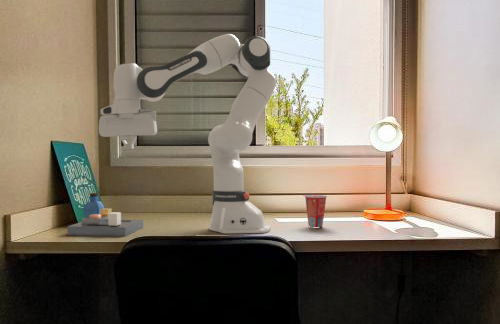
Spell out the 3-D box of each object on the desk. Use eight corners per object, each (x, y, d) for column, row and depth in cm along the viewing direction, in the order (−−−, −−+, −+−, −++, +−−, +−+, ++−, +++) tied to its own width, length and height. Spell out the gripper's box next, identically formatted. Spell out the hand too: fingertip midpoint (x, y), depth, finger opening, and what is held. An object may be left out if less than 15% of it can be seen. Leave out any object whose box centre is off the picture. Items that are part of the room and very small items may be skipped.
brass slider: (111, 219, 136) (111, 208, 136) (107, 220, 133) (107, 209, 133) (103, 219, 136) (103, 208, 136) (99, 220, 133) (99, 209, 133)
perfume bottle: (82, 224, 143) (82, 194, 143) (89, 222, 149) (89, 192, 149) (98, 224, 143) (98, 194, 143) (104, 222, 149) (104, 192, 149)
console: (143, 227, 137) (143, 214, 137) (125, 236, 121) (125, 221, 121) (92, 226, 139) (92, 213, 139) (67, 235, 123) (67, 220, 123)
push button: (103, 221, 131) (103, 214, 131) (97, 223, 127) (97, 216, 127) (92, 221, 131) (92, 214, 131) (86, 222, 127) (86, 215, 127)
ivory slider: (120, 224, 126) (120, 212, 126) (117, 225, 123) (117, 213, 123) (112, 223, 126) (112, 212, 126) (108, 225, 123) (108, 213, 123)
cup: (325, 225, 143) (325, 194, 143) (328, 229, 135) (328, 196, 135) (301, 224, 144) (301, 194, 144) (302, 228, 136) (302, 196, 136)
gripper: (159, 109, 132) (160, 148, 132) (104, 111, 134) (105, 149, 134) (153, 107, 126) (154, 147, 126) (95, 109, 127) (97, 149, 128)
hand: (128, 148), depth 130 cm, fingers closed
